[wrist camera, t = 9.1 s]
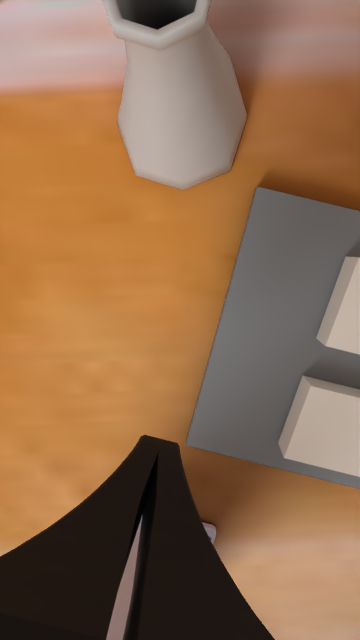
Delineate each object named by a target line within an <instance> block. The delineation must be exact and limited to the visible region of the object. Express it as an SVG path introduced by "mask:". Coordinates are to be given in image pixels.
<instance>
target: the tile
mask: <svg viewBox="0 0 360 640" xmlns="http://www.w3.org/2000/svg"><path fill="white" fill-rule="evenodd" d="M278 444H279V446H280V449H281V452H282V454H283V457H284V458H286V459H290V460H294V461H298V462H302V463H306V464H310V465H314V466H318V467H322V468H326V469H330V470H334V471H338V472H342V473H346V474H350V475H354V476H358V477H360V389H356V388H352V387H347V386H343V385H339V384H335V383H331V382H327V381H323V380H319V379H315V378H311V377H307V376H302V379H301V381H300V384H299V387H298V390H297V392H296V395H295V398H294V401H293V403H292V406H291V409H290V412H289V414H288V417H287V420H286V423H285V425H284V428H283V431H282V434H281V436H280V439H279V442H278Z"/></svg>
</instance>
